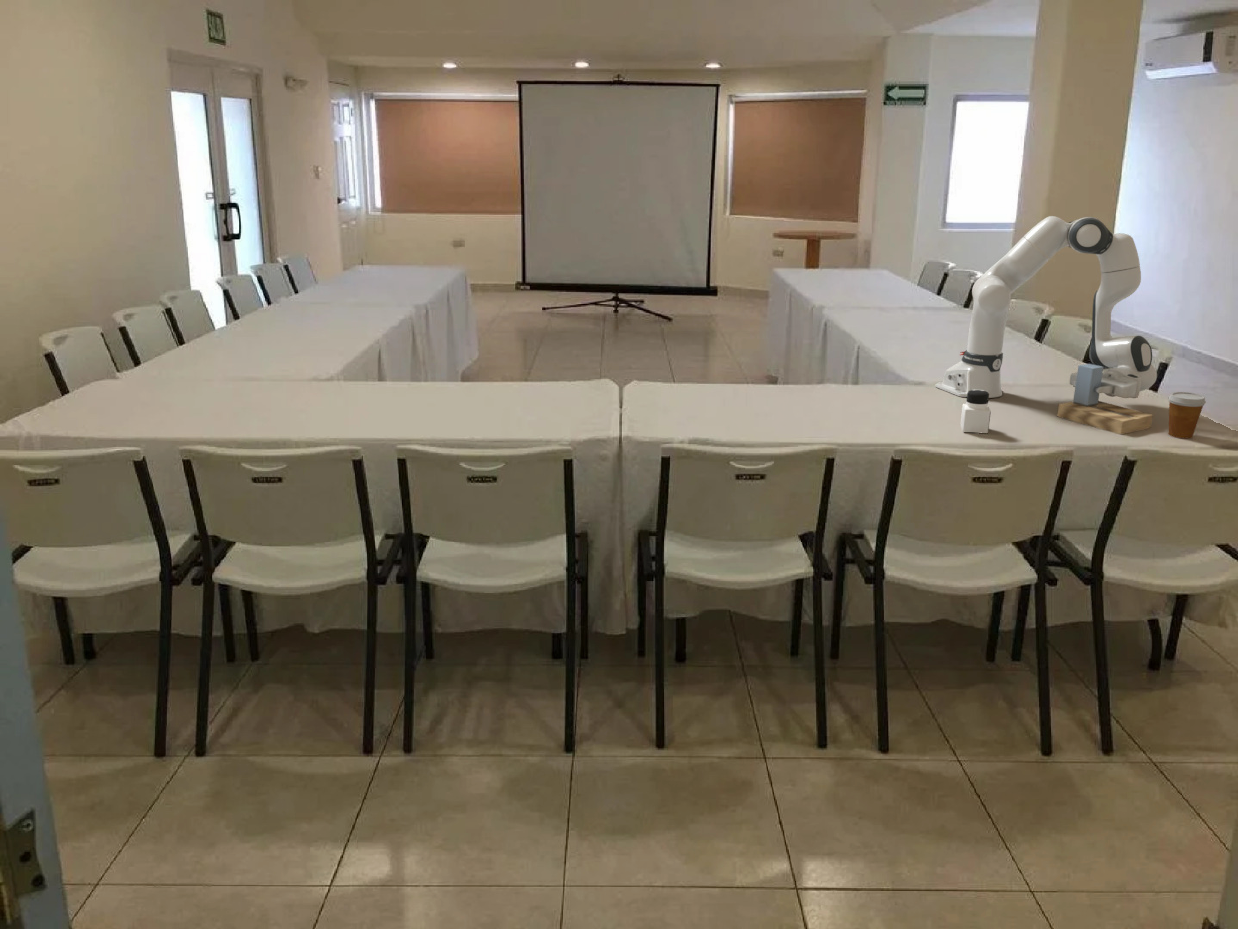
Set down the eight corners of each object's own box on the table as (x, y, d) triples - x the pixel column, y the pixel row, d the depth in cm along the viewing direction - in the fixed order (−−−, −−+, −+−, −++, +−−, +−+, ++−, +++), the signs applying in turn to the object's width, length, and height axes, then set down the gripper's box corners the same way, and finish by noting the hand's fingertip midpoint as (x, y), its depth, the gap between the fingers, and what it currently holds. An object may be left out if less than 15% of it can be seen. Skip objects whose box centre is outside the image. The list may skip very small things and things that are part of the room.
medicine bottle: (988, 434, 296) (993, 394, 292) (962, 432, 298) (967, 393, 294) (984, 427, 303) (989, 388, 299) (960, 426, 304) (964, 387, 300)
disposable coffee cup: (1155, 431, 299) (1162, 391, 295) (1185, 430, 300) (1193, 391, 296) (1174, 440, 290) (1182, 400, 286) (1206, 439, 291) (1214, 399, 287)
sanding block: (1072, 403, 314) (1078, 365, 310) (1083, 401, 316) (1089, 363, 312) (1086, 406, 309) (1092, 368, 306) (1097, 404, 312) (1103, 366, 308)
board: (1057, 416, 314) (1059, 403, 313) (1087, 410, 320) (1089, 398, 319) (1120, 434, 296) (1122, 421, 294) (1150, 427, 302) (1153, 414, 301)
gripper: (1087, 365, 324) (1058, 370, 318) (1146, 379, 307) (1116, 384, 301) (1085, 384, 326) (1055, 389, 320) (1142, 399, 309) (1113, 404, 303)
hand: (1085, 387), depth 310 cm, fingers open, 6 cm apart
